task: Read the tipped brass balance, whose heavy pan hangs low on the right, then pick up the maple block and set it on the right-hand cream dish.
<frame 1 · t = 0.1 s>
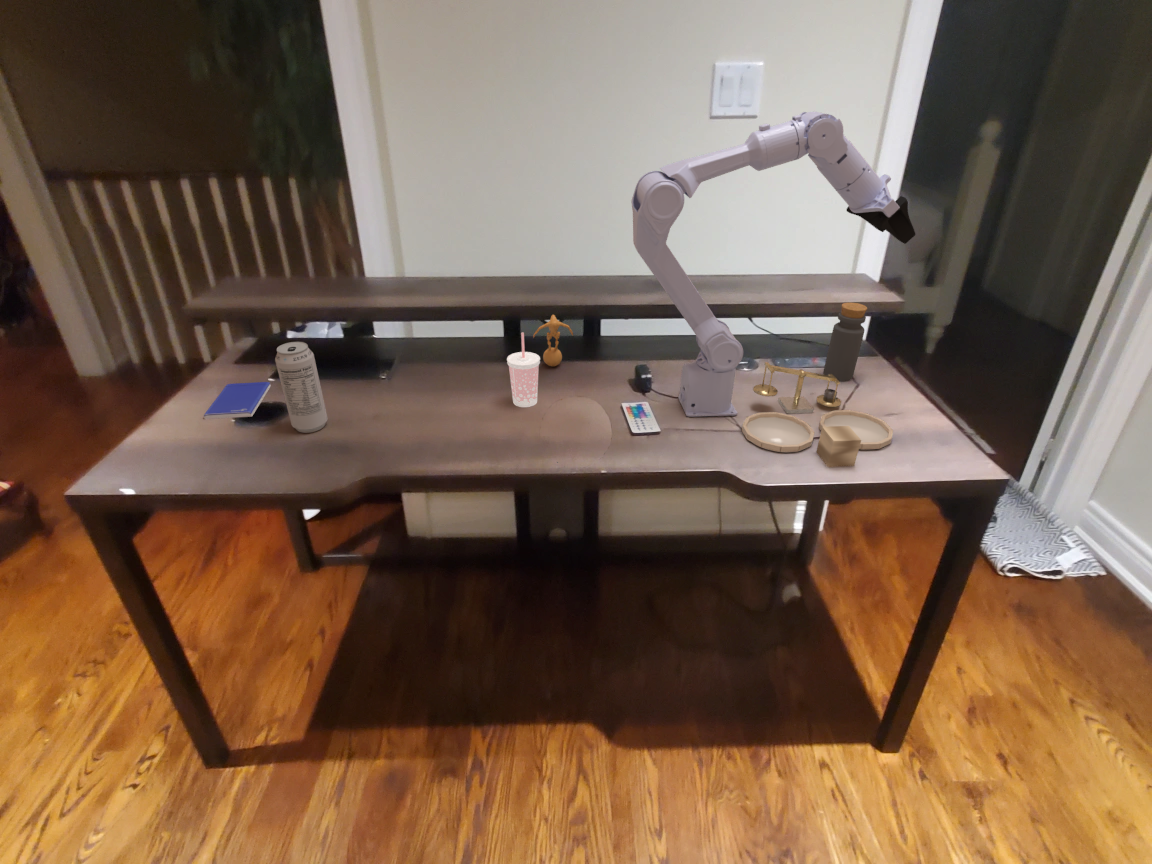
hand: (897, 232, 106), 32 cm above the table, tool tilted 50°, fingers open, 7 cm apart
figurine: (553, 368, 135), on the table
hard drive: (240, 405, 121), on the table
beverage cup: (525, 402, 122), on the table
energy drink can: (311, 426, 113), on the table
maple block: (834, 459, 105), on the table
left dish: (777, 435, 112), on the table
bottle: (837, 376, 133), on the table
balance scale: (795, 406, 121), on the table
right dish: (854, 432, 113), on the table
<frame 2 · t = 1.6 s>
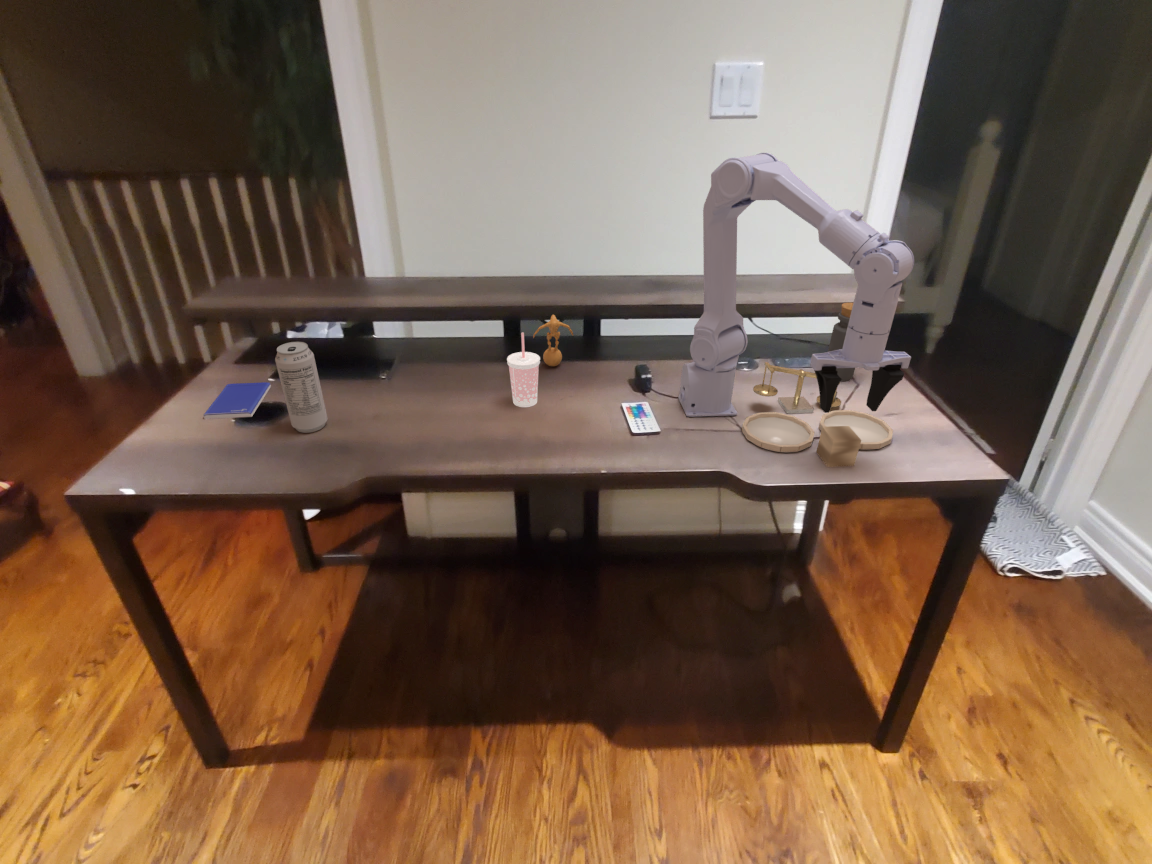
hand: (847, 408, 101), 9 cm above the table, tool pointing down, fingers open, 7 cm apart
nothing on the table moved.
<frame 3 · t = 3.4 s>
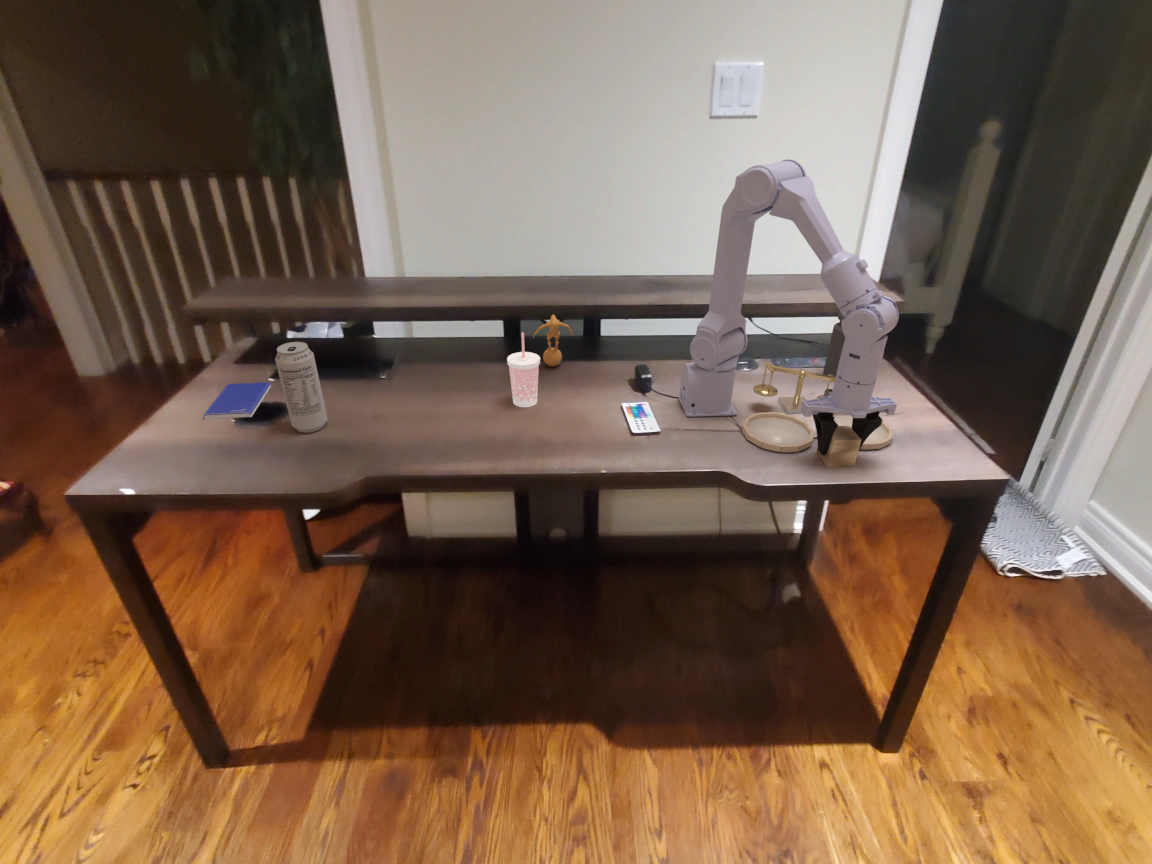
hand: (836, 451, 105), 1 cm above the table, tool pointing down, fingers closed on maple block, 4 cm apart
maple block: (834, 458, 105), on the table, touching gripper
everything else where it was.
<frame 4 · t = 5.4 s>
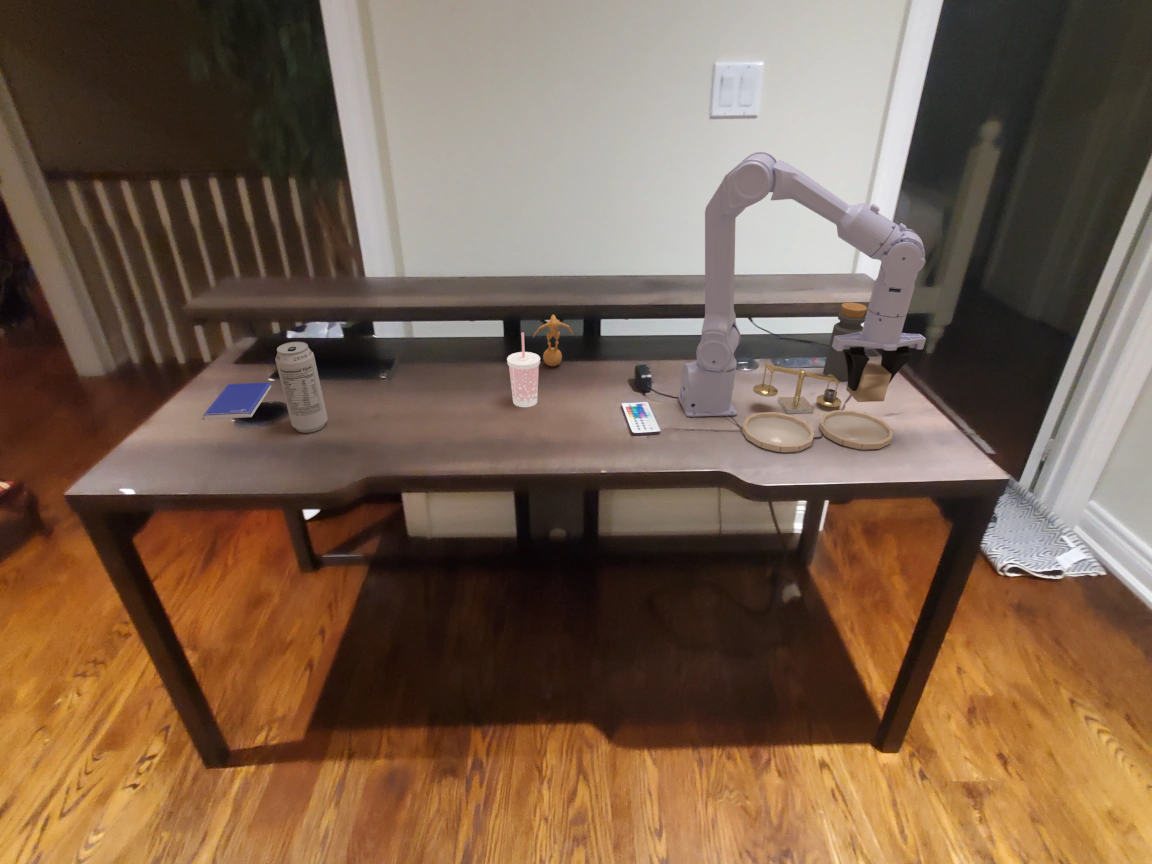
hand: (866, 387, 108), 9 cm above the table, tool pointing down, fingers closed on maple block, 4 cm apart
maple block: (864, 395, 109), point 7 cm above the table, touching gripper
everything else where it was.
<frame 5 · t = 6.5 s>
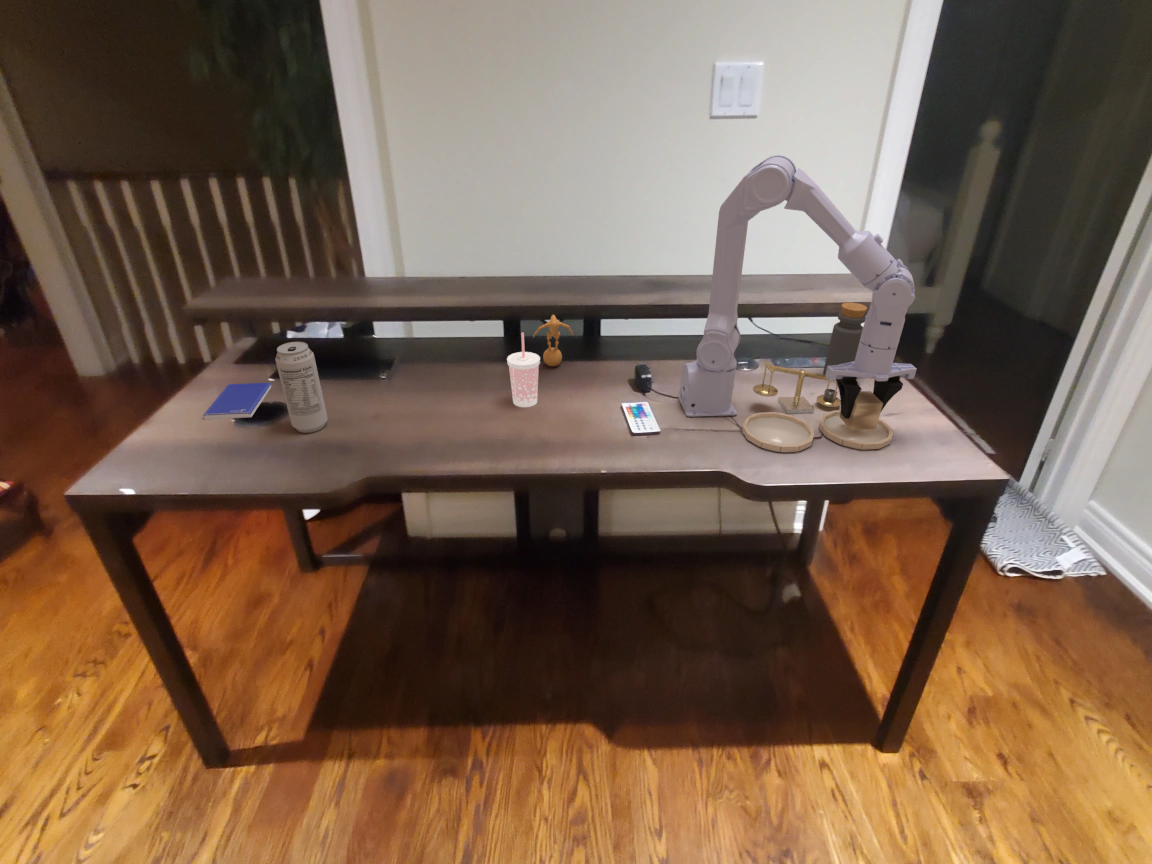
hand: (859, 415, 111), 4 cm above the table, tool pointing down, fingers closed on maple block, 4 cm apart
maple block: (857, 422, 112), point 2 cm above the table, touching gripper
everything else where it was.
when the fingers open (4 cm above the table, at t = 7.3 s): maple block drops 1 cm, resting on right dish.
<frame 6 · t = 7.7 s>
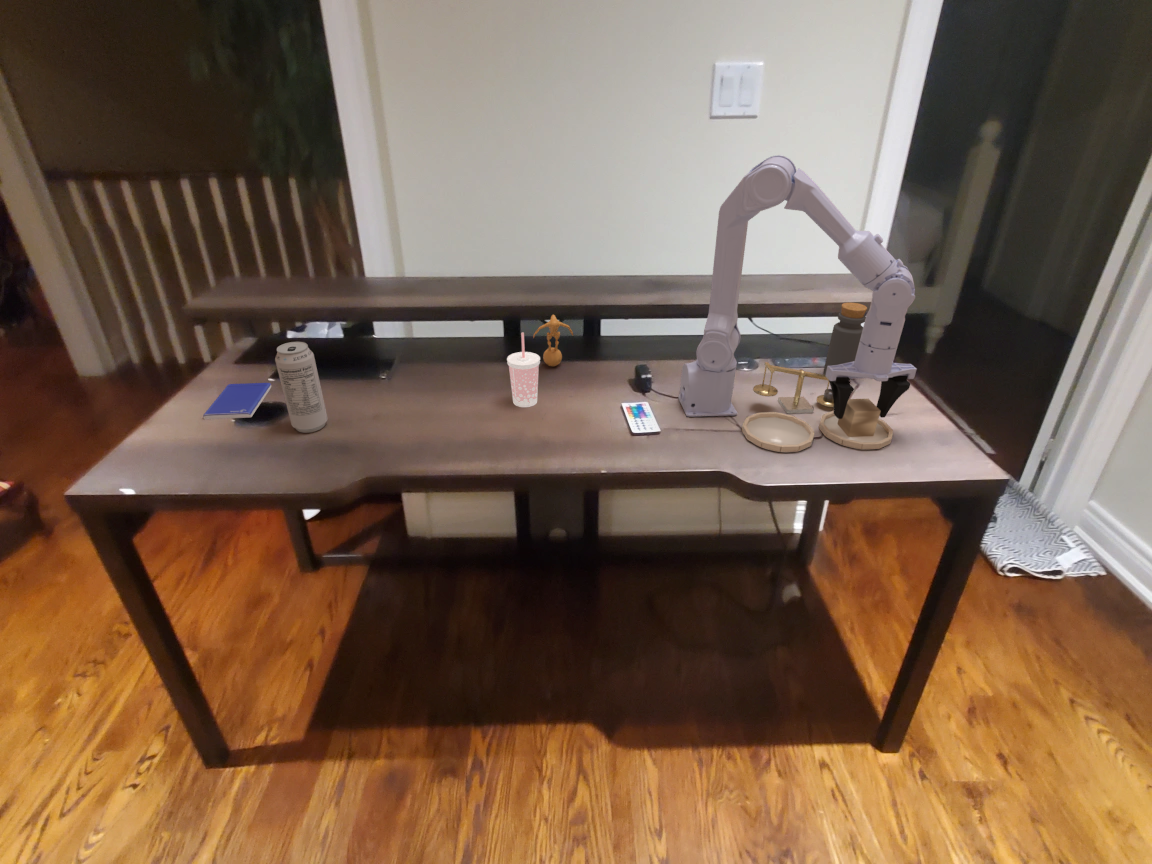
hand: (859, 415, 111), 4 cm above the table, tool pointing down, fingers open, 7 cm apart
maple block: (855, 429, 112), point 1 cm above the table, touching right dish
everything else where it was.
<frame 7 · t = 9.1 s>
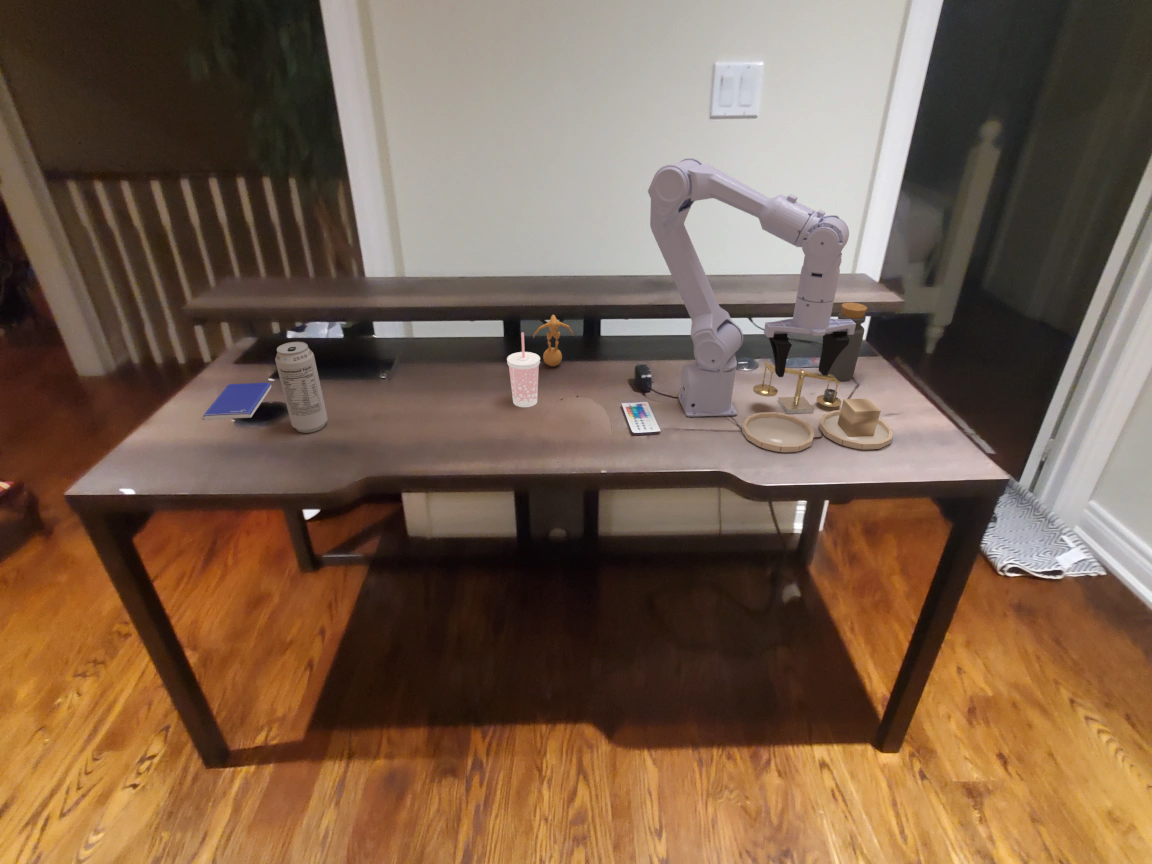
hand: (801, 374, 109), 10 cm above the table, tool pointing down, fingers open, 7 cm apart
nothing on the table moved.
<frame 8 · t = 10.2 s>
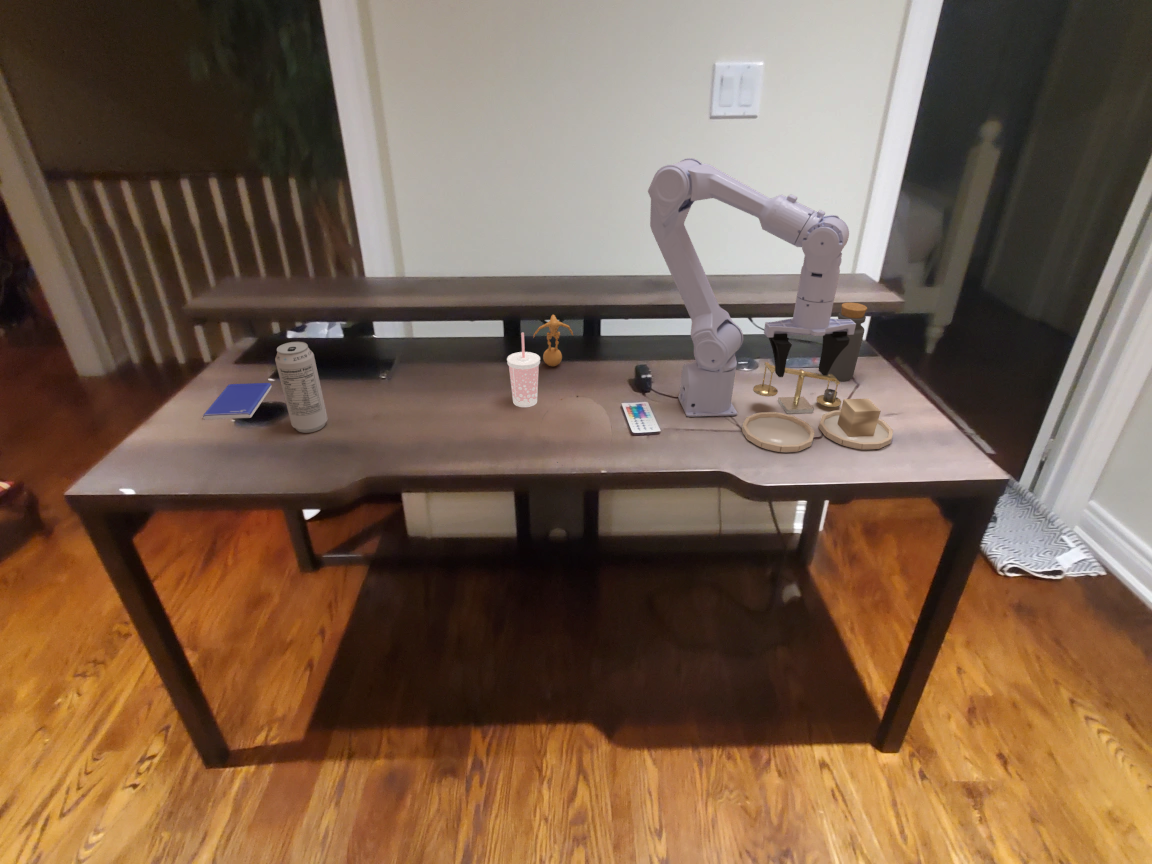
hand: (801, 374, 109), 10 cm above the table, tool pointing down, fingers open, 7 cm apart
nothing on the table moved.
at the end: maple block 0.0 cm off-centre on the right dish, point 0.6 cm above the right dish's base; maple block tilted 0°; the gripper is holding nothing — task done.
